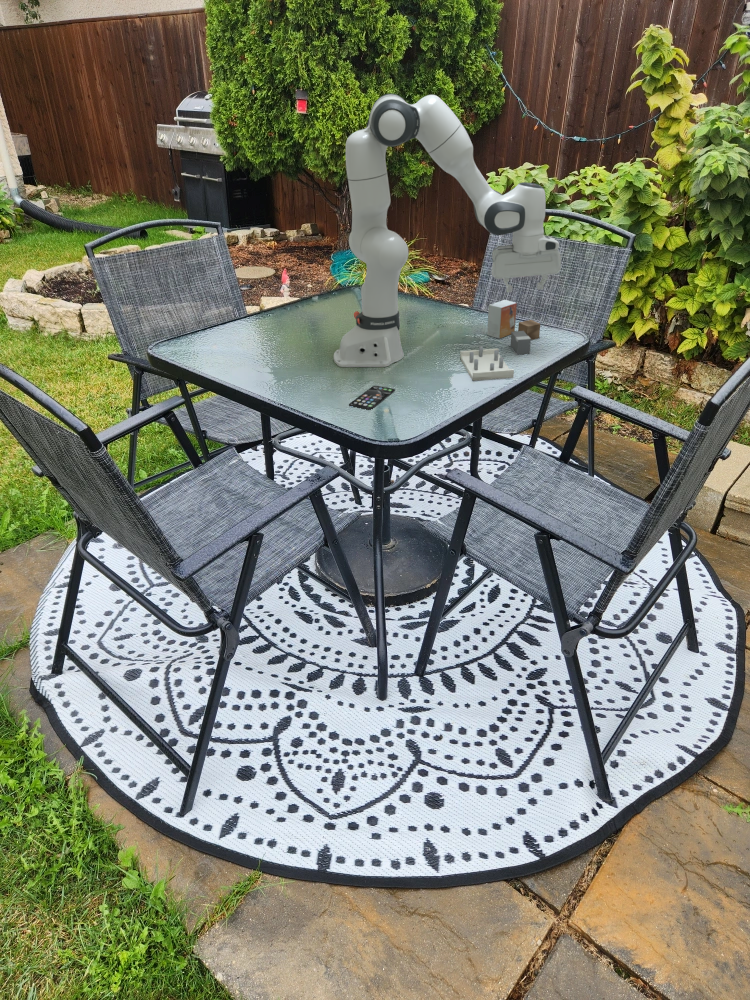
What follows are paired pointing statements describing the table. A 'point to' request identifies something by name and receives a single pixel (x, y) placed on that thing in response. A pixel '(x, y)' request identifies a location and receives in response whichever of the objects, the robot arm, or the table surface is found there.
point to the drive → (520, 342)
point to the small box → (501, 318)
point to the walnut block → (530, 328)
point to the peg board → (485, 364)
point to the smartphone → (372, 397)
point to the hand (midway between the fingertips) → (524, 290)
